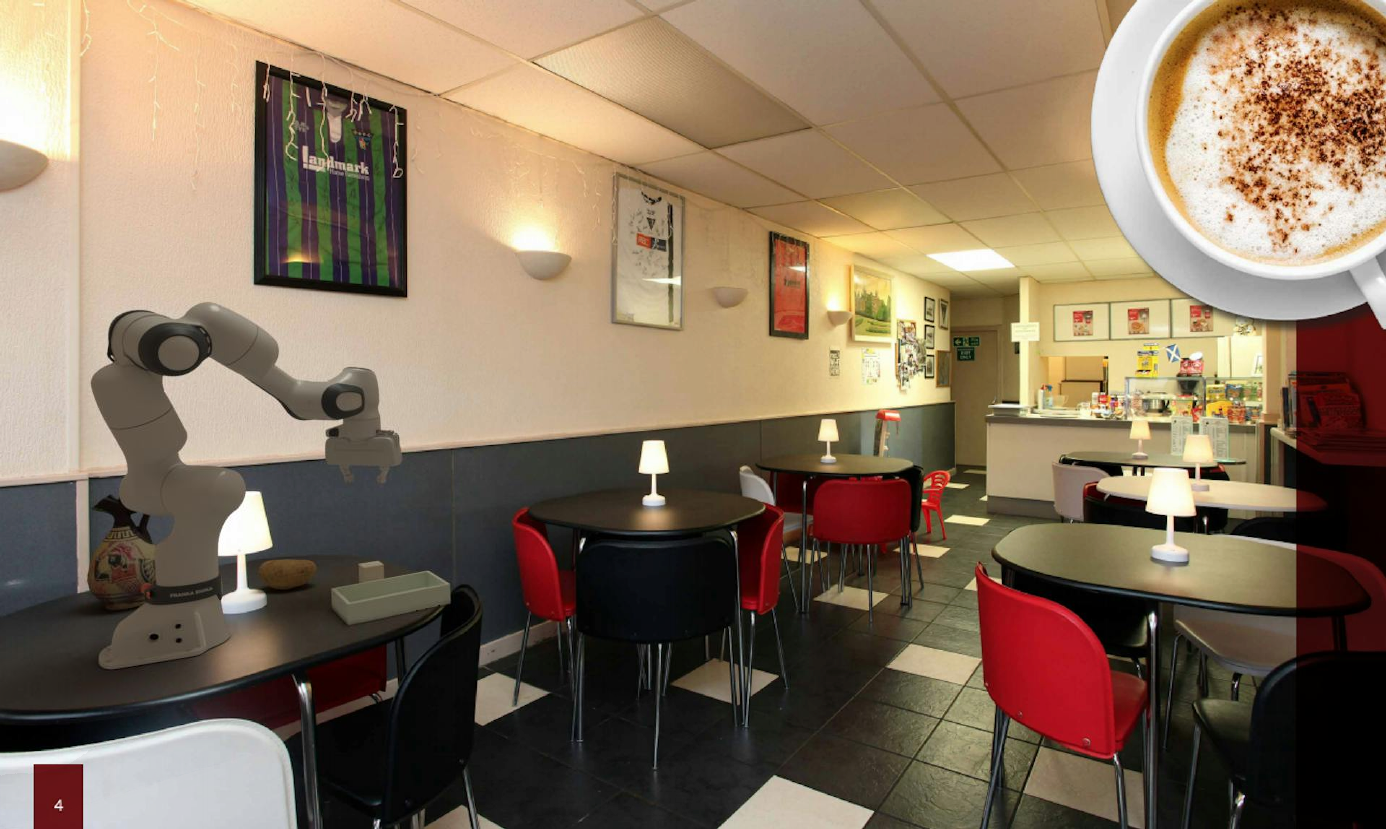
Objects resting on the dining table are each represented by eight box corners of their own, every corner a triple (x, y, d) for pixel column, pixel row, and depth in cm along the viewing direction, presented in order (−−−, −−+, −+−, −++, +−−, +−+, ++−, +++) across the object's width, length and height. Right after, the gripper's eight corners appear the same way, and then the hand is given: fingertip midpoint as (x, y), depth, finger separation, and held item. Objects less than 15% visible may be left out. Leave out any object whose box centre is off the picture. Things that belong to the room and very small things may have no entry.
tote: (348, 625, 163) (347, 604, 162) (331, 608, 175) (331, 588, 174) (450, 603, 178) (450, 584, 178) (428, 588, 190) (428, 570, 190)
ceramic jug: (78, 619, 168) (71, 495, 166) (101, 599, 182) (95, 485, 180) (165, 608, 174) (158, 489, 173) (181, 591, 188) (175, 480, 187)
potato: (310, 592, 187) (309, 562, 187) (252, 595, 185) (251, 565, 184) (322, 581, 197) (321, 553, 196) (267, 584, 194) (266, 556, 194)
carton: (364, 593, 186) (363, 568, 185) (359, 589, 190) (358, 564, 189) (384, 590, 189) (383, 564, 189) (378, 585, 193) (378, 560, 192)
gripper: (405, 428, 183) (408, 480, 184) (336, 427, 186) (339, 478, 188) (391, 431, 177) (393, 485, 178) (319, 430, 180) (322, 483, 182)
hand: (365, 482), depth 183 cm, fingers open, 8 cm apart
